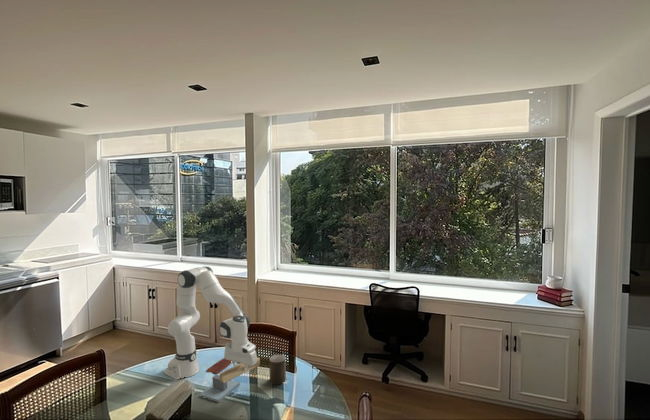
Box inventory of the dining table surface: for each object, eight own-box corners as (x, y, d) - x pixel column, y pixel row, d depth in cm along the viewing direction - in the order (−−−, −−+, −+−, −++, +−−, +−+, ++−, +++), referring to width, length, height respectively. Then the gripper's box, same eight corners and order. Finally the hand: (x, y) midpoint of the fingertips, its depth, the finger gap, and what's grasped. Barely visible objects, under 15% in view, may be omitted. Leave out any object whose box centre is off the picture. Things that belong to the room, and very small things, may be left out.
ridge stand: (199, 396, 193) (199, 383, 192) (221, 379, 209) (220, 367, 209) (219, 402, 187) (218, 388, 186) (239, 384, 203) (239, 371, 203)
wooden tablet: (217, 375, 215) (217, 373, 215) (205, 372, 219) (204, 370, 219) (242, 355, 239) (242, 353, 239) (231, 353, 243) (231, 351, 243)
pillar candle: (278, 386, 201) (277, 362, 200) (266, 380, 207) (266, 357, 206) (289, 378, 208) (288, 355, 207) (278, 373, 214) (277, 350, 213)
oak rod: (219, 380, 183) (219, 373, 182) (255, 362, 201) (255, 356, 201) (224, 383, 180) (223, 376, 180) (260, 364, 198) (259, 358, 198)
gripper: (221, 344, 191) (222, 368, 192) (251, 351, 182) (251, 376, 183) (228, 339, 196) (229, 362, 197) (258, 346, 188) (258, 370, 189)
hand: (240, 369), depth 190 cm, fingers closed on oak rod, 5 cm apart
